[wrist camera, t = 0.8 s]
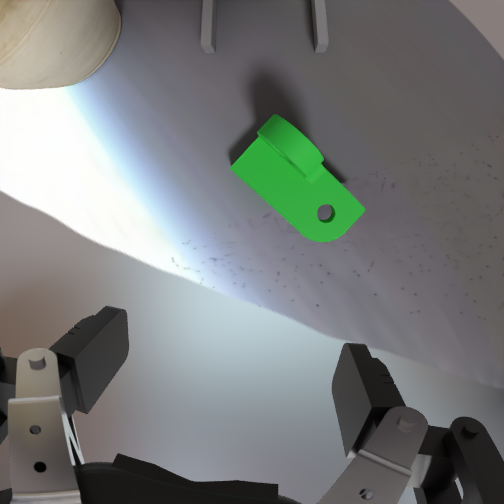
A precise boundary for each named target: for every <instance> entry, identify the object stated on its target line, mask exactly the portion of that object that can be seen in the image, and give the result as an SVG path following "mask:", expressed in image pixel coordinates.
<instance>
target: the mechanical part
mask: <svg viewBox="0 0 504 504" xmlns="http://www.w3.org/2000/svg"><path fill="white" fill-rule="evenodd" d="M257 134H258V136H259V137H258V138H257V139H256V140H255V141H254V142H253V143H252V144H251V145H250V146H249V148H248V149H247V150H246V151H245V152H244V153H243V154H242V155H241V156H240V157H239V158H238V160H237V161H236V162H235V163H234V164H233V165H232V166H231V167H230V169H231V170H232V171H233V172H234V173H235V174H236V175H237V176H239V177H240V178H241V179H242V180H243V181H244V182H245V183H246V184H248V185H249V186H250V187H251V188H252V189H253V190H254V191H255V192H257V193H258V194H259V195H260V196H261V197H262V198H263V199H264V200H265V201H266V202H268V203H269V204H270V205H271V206H272V207H273V208H274V209H275V210H276V211H277V212H278V213H280V214H281V215H282V216H283V217H284V218H285V219H286V220H287V221H288V222H289V223H290V224H291V225H293V226H294V227H295V228H296V229H297V230H298V231H299V232H300V233H301V234H302V235H303V236H305V237H306V238H308V239H310V240H313V241H317V242H328V241H332V240H335V239H337V238H338V237H340V236H341V235H343V234H344V233H345V232H346V231H347V230H348V229H349V228H350V227H351V226H352V225H353V223H354V222H355V221H356V220H357V219H358V218H359V217H360V216H361V215H362V214H363V213H364V212H365V211H366V209H365V208H364V207H363V206H362V205H361V204H360V203H359V202H358V201H357V200H356V199H355V198H354V197H353V196H352V195H351V194H350V193H349V191H348V190H347V189H346V188H345V187H344V186H343V185H342V184H341V183H340V182H339V181H338V180H337V179H336V178H335V177H334V176H333V175H332V174H330V173H329V172H328V171H327V170H326V169H325V168H324V167H323V165H322V164H321V162H322V161H323V160H324V158H323V156H322V154H321V153H320V152H319V151H318V149H317V148H316V147H315V146H314V145H313V144H312V143H311V142H310V141H309V140H308V139H307V138H306V137H305V136H304V135H303V134H302V133H301V132H300V131H299V130H298V129H296V128H295V127H294V126H293V125H291V124H290V123H289V122H287V121H286V120H285V119H283V118H282V117H280V116H278V115H276V114H274V115H273V116H272V117H271V118H270V119H269V120H268V121H267V122H266V123H265V124H264V125H263V126H262V127H261V128H260V129H259V130H258V131H257ZM323 204H329V205H330V206H331V208H332V214H331V216H330V217H329V218H328V219H326V220H320V219H318V217H317V210H318V208H319V207H320V206H321V205H323Z"/></svg>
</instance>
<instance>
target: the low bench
mask: <svg viewBox="0 0 504 504" xmlns="http://www.w3.org/2000/svg"><path fill="white" fill-rule="evenodd" d="M311 5H312V17H313V30H314V46H315V52H317V53H325V51H326V49H327V47H328V44H329V43H328V31H327V19H326V9H325V0H311ZM216 20H217V0H203V7H202V26H201V47H202V48H203V50H204V52H205V53H206V54H211V53H216Z"/></svg>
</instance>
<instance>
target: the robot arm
mask: <svg viewBox="0 0 504 504" xmlns="http://www.w3.org/2000/svg"><path fill="white" fill-rule="evenodd" d="M127 324H128V322H127V313H126V311H125V310H124V309H119V308H115V307H110V306H105V307H104V308H103V309H102V310H101V311H99V312H98V313H97V314H96V315H95V316H94V315H92V316H89V317H87V318H85V319H82V320H81V321H80V322H78V323H77V324H76V325H75V326H74V328H72V329H70V330H69V331H68V333H66V334H65V335H64V336H63V337H61V338H60V339H59V340H58V341H57V342H56V343H55V344H54V345H52V346H51V347H50V348H49V349H44V348H34V349H30V350H28V351H26V352H24V353H22V354H21V355H20V356H19V358H18V359H17V358H11V357H5V356H3V355H2V352H1V348H0V444H1V443H2V441H3V440H4V439H5V437H6V436H7V435H8V448H9V449H8V450H9V465H10V476H11V485H12V488H9V489H6V490H2V491H0V504H301V503H299V502H297V501H295V500H293V499H290V498H287V497H285V496H280V495H278V484H268V483H257V482H248V481H239V480H234V481H213V482H212V481H211V482H194V481H190V480H188V479H185V478H183V477H181V476H178V475H176V474H174V473H172V472H170V471H168V470H166V469H163V468H161V467H159V466H157V465H155V464H152V463H148V462H145V461H141V460H138V459H135V458H131V457H128V456H125V455H122V454H119V453H118V454H117V456H116V458H115V460H114V462H113V463H111V462H91V463H84V459H83V456H82V452H81V449H80V445H79V441H78V437H77V433H76V428H75V424H74V420H73V416H72V414H73V413H74V411H75V410H77V411H80V412H83V413H85V414H88V413H89V411H90V410H91V408H92V407H93V406H94V404H95V403H96V401H97V400H98V398H99V397H100V396H101V394H102V393H103V391H104V390H105V388H106V387H107V386H108V384H109V383H110V381H111V380H112V379H113V377H114V376H115V374H116V373H117V372H118V370H119V368H120V367H121V366H122V365H123V363H124V362H125V360H126V358H127V355H128V351H129V340H128V325H127ZM332 395H333V399H334V404H335V408H336V413H337V417H338V422H339V426H340V430H341V436H342V440H343V445H344V450H345V454H346V458H354V459H353V460H352V462H351V463H350V464H349V465H348V467H347V468H346V470H345V471H344V472H343V473H342V474H341V476H340V477H339V478H338V480H337V481H336V482H335V483H334V484H333V486H332V487H331V488H330V489H329V491H328V492H327V493H326V494H325V495H324V496H323V498H322V499H321V500H320V501H319V502H318V503H317V504H397V503H398V501H399V499H400V497H401V495H402V493H403V492H404V490H405V487H406V486H408V487H413V488H414V492H415V496H416V500H417V504H504V461H503V459H502V457H501V455H500V453H499V451H498V450H497V448H496V446H495V444H494V443H493V441H492V439H491V437H490V435H489V434H488V432H487V430H486V428H485V427H484V426H483V425H482V424H481V423H480V422H479V421H477V420H475V419H473V418H470V417H459V418H457V419H455V420H454V421H453V422H452V424H451V426H450V427H449V428H442V427H436V426H430V425H428V422H427V420H426V418H425V417H424V415H423V414H421V413H420V412H419V411H417V410H415V409H413V408H410V407H406V405H405V403H404V401H403V399H402V397H401V395H400V393H399V391H398V389H397V387H396V385H395V384H394V381H393V379H392V377H390V373H389V371H388V369H387V367H386V366H385V365H384V364H383V363H382V362H381V361H380V360H379V359H378V358H372V357H371V354H370V352H369V350H368V348H367V346H366V345H365V344H355V343H345V344H344V345H343V348H342V351H341V354H340V357H339V361H338V364H337V367H336V370H335V374H334V377H333V381H332ZM457 477H458V478H459V481H460V483H461V486H462V488H463V494H464V495H463V500H462V499H461V496H460V493H459V490H458V488H457V485H456V482H455V480H456V478H457Z"/></svg>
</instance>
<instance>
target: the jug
mask: <svg viewBox="0 0 504 504" xmlns="http://www.w3.org/2000/svg"><path fill="white" fill-rule="evenodd" d="M120 31H121V16H120V13H119V11H118V9H117V7H116V4H115V2H114V0H0V88H5V89H43V88H57V87H64V86H70V85H74V84H76V83H79V82H81V81H83V80H85V79H86V78H88V77H89V76H90V75H92V74H93V73H94V72H95V71H96V70H98V69H99V68H100V67H101V66H102V64H103V63H104V62H105V61H106V59H107V58H108V57H109V55H110V54H111V52H112V51H113V49H114V47H115V45H116V43H117V41H118V38H119V34H120Z"/></svg>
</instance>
